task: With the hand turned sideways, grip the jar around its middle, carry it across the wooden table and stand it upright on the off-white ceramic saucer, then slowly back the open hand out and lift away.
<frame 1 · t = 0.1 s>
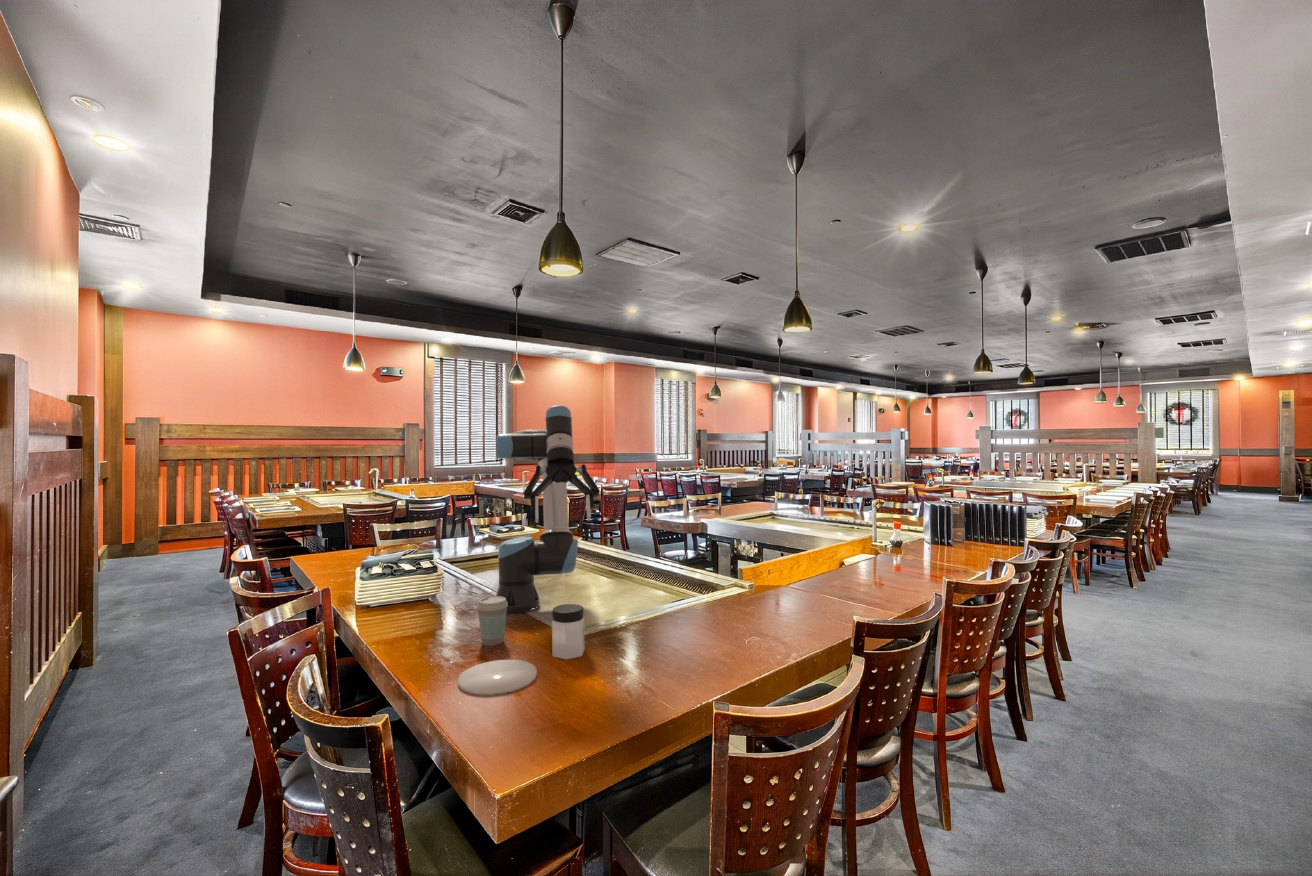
hand: (563, 519, 150), 36 cm above the table, tool tilted 35°, fingers open, 13 cm apart
saucer: (498, 678, 135), on the table
coffee cup: (492, 643, 160), on the table
jar: (568, 654, 151), on the table
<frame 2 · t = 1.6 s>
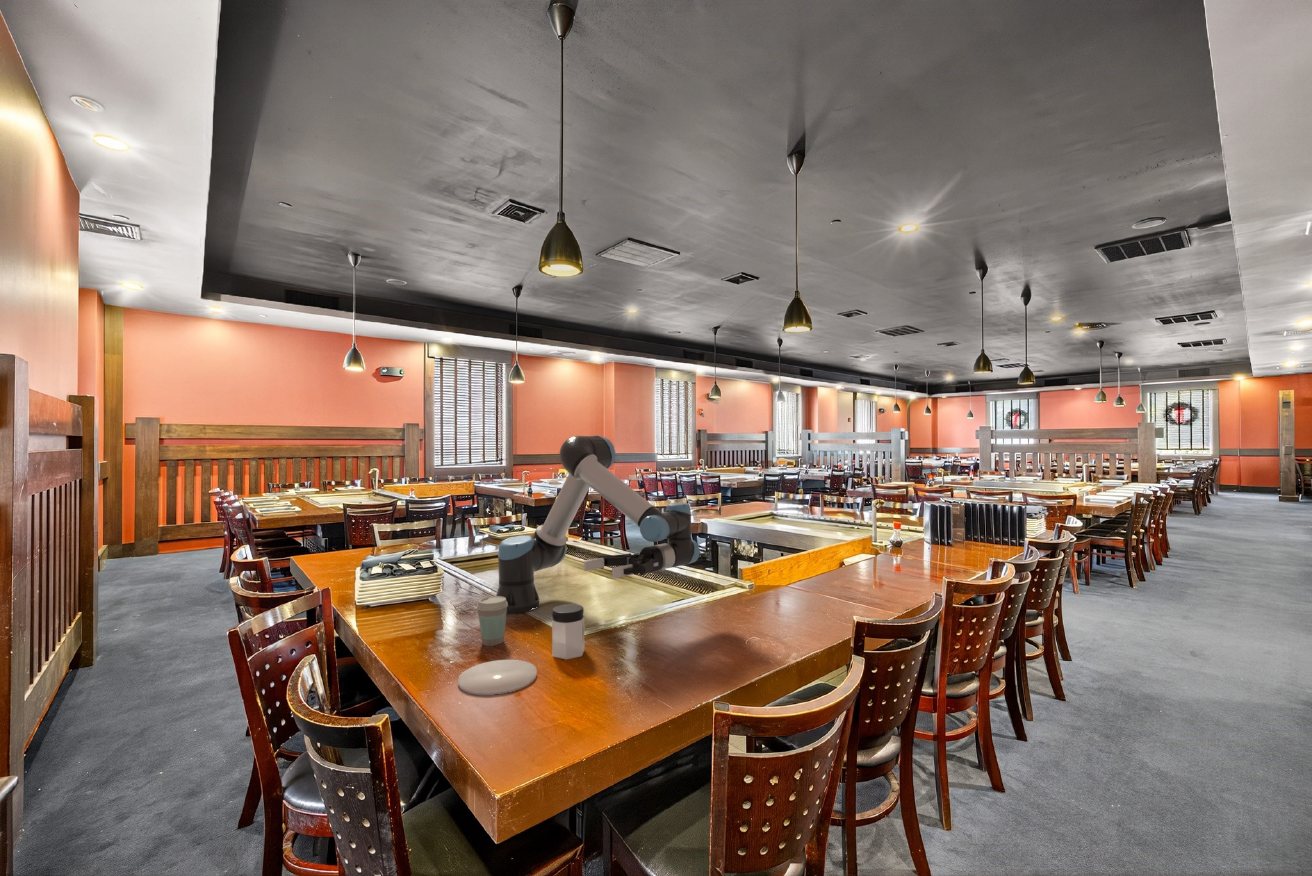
hand: (598, 569, 158), 21 cm above the table, tool horizontal, fingers open, 13 cm apart
nothing on the table moved.
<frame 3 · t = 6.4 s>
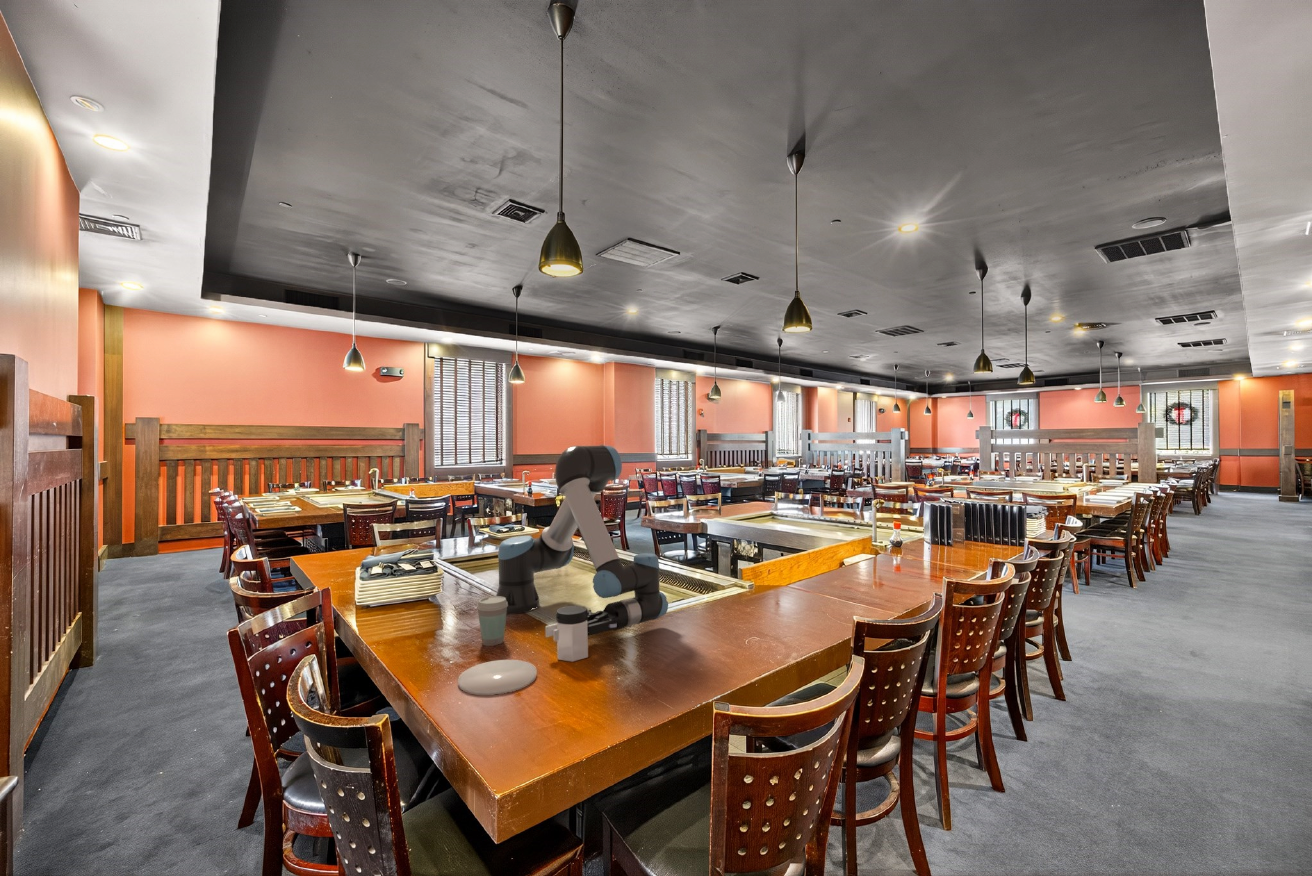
hand: (550, 633, 147), 6 cm above the table, tool horizontal, fingers closed on jar, 3 cm apart
jar: (572, 656, 149), on the table, touching gripper
everything else where it was.
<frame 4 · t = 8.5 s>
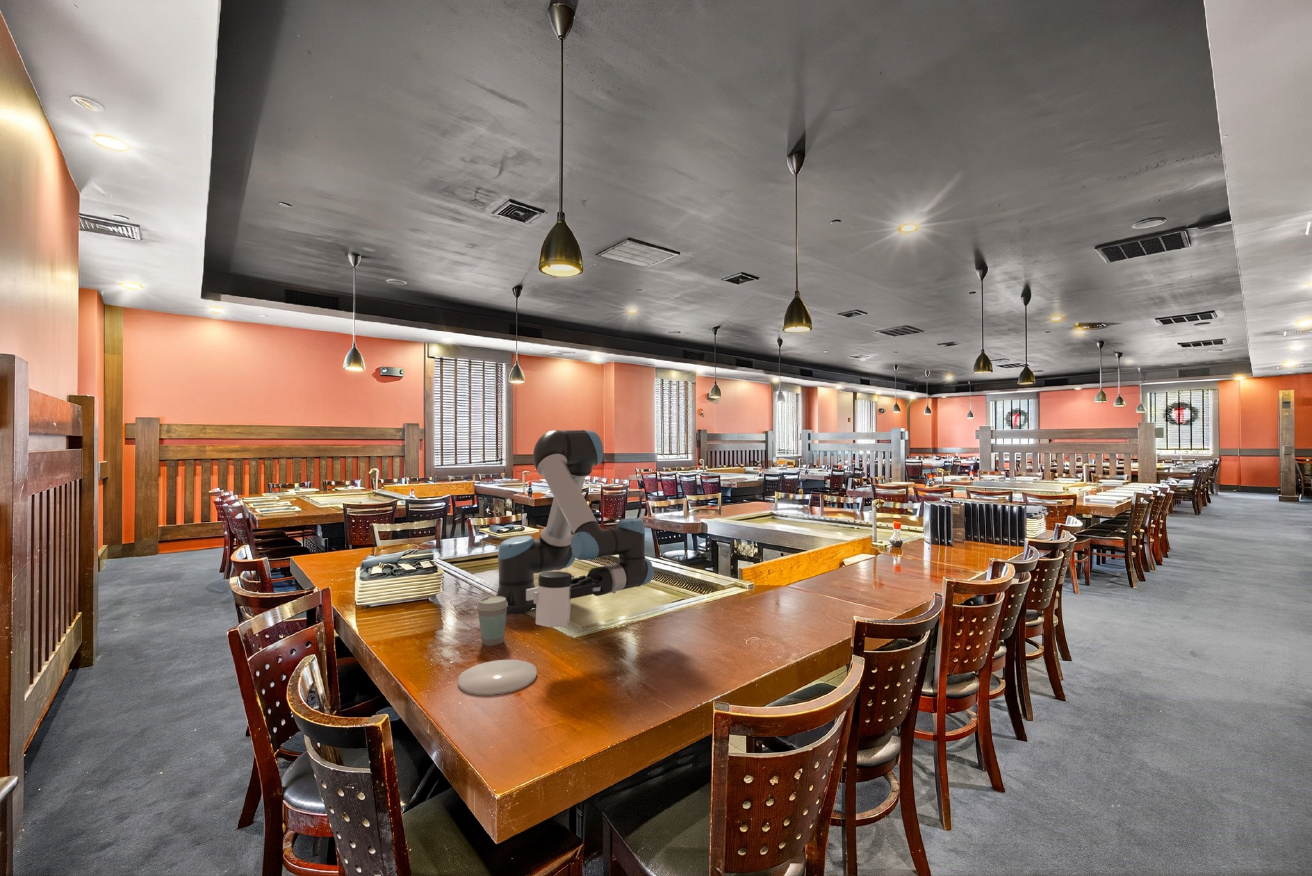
hand: (530, 596, 141), 18 cm above the table, tool horizontal, fingers closed on jar, 3 cm apart
jar: (552, 623, 142), point 11 cm above the table, touching gripper
everything else where it was.
when the fingers open (7 cm above the table, at t = 11.2 s): jar stays where it is, resting on saucer.
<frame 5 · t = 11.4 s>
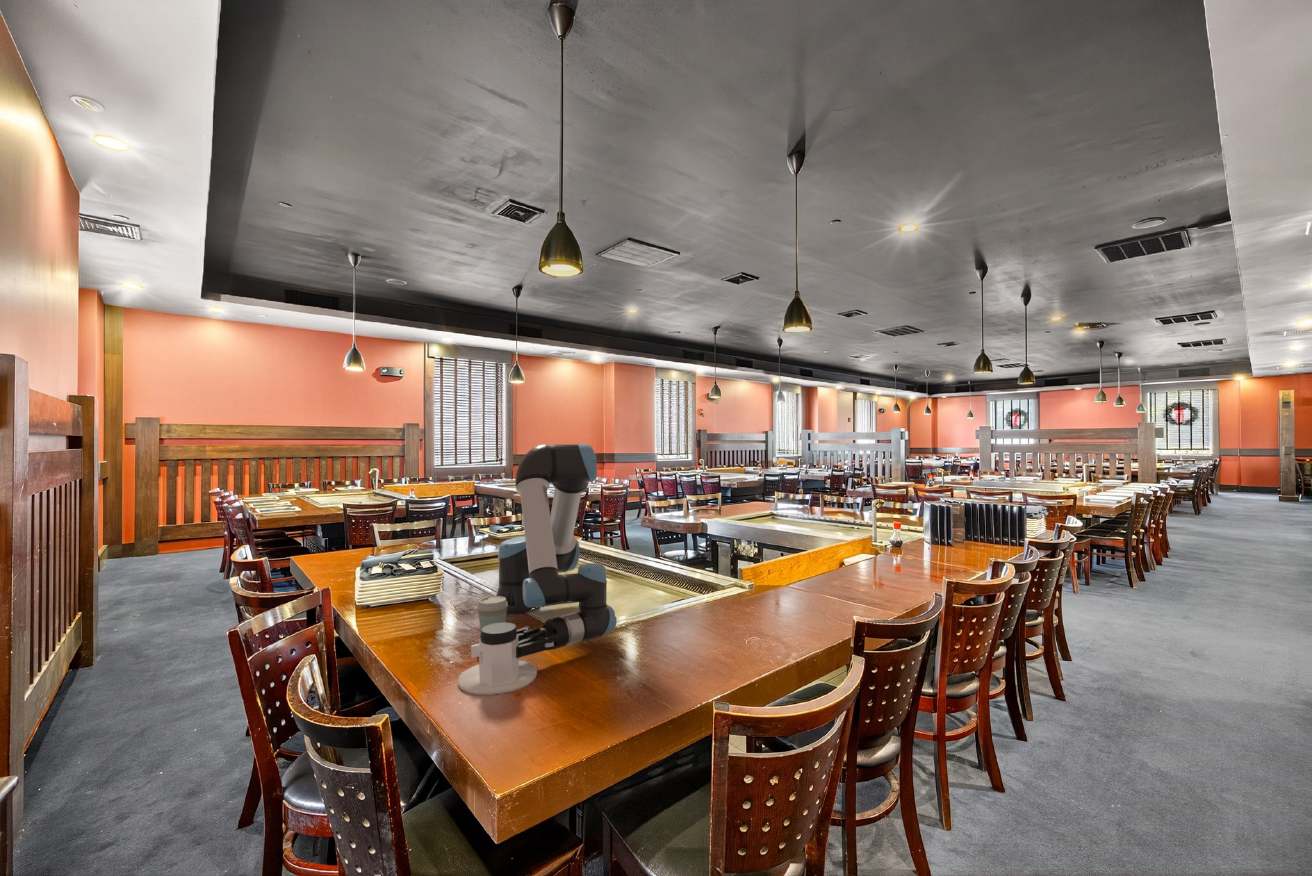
hand: (476, 654, 132), 7 cm above the table, tool horizontal, fingers open, 4 cm apart
jar: (499, 680, 133), point 1 cm above the table, touching saucer
everything else where it was.
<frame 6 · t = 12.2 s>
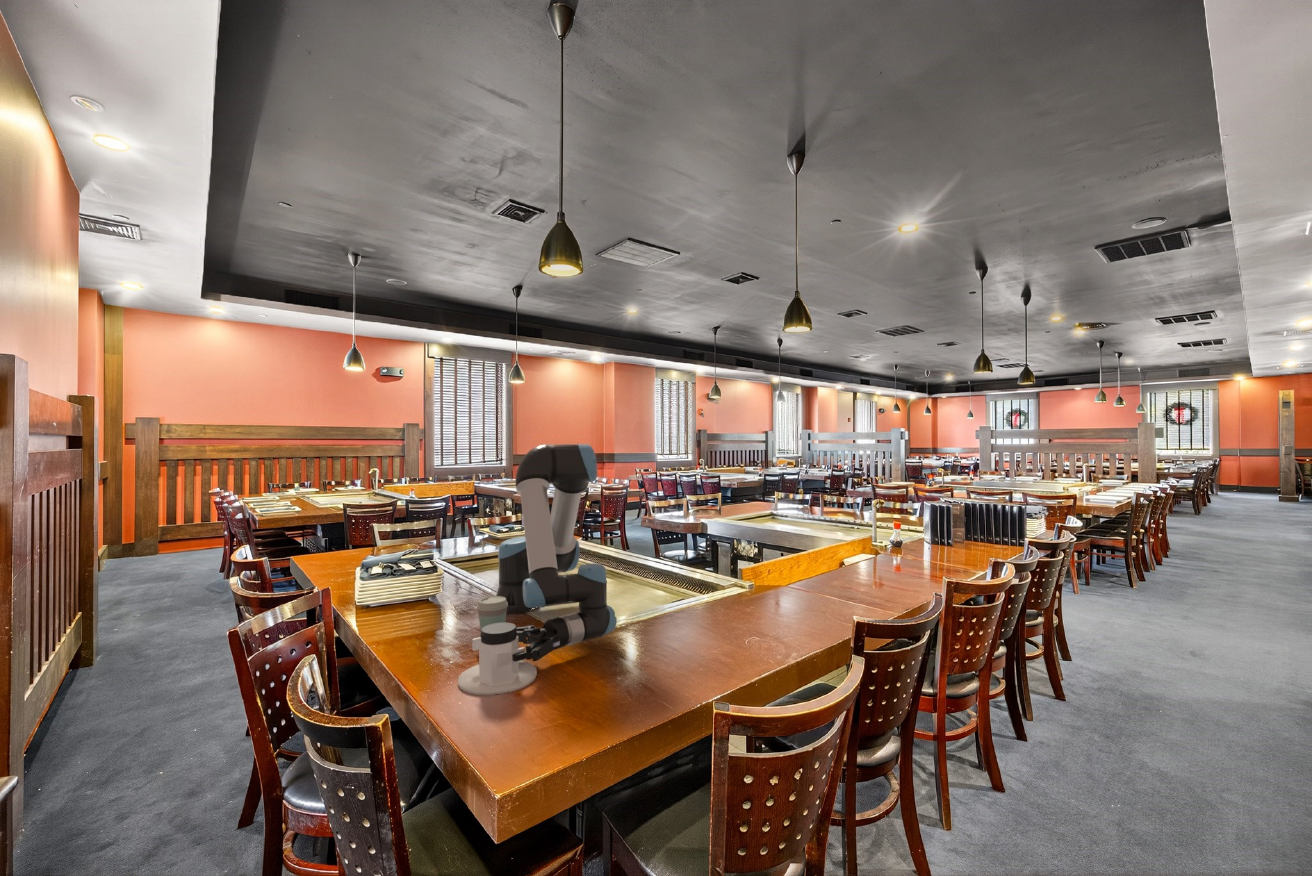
hand: (484, 652, 133), 7 cm above the table, tool horizontal, fingers open, 13 cm apart
nothing on the table moved.
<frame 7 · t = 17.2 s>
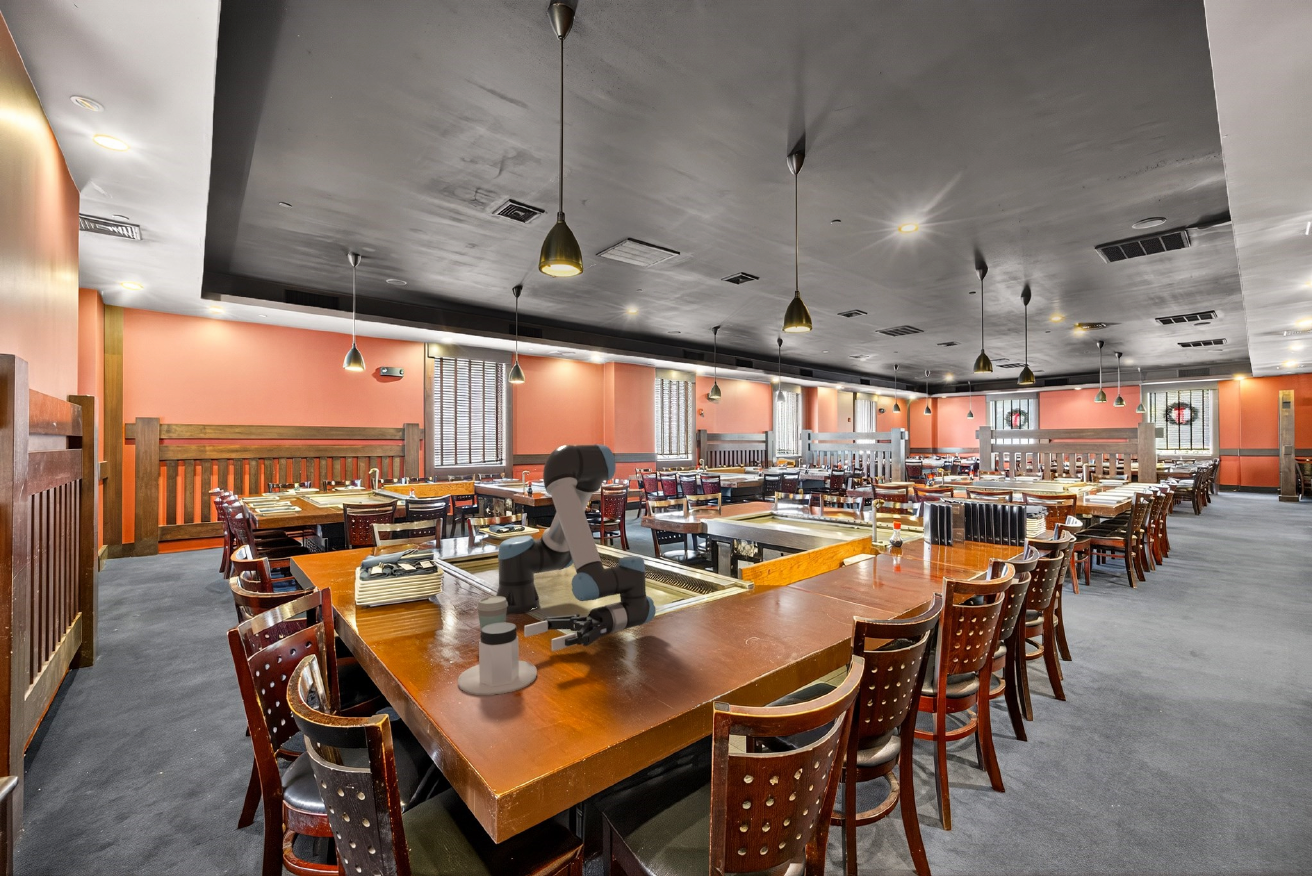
hand: (537, 638, 143), 7 cm above the table, tool horizontal, fingers open, 13 cm apart
nothing on the table moved.
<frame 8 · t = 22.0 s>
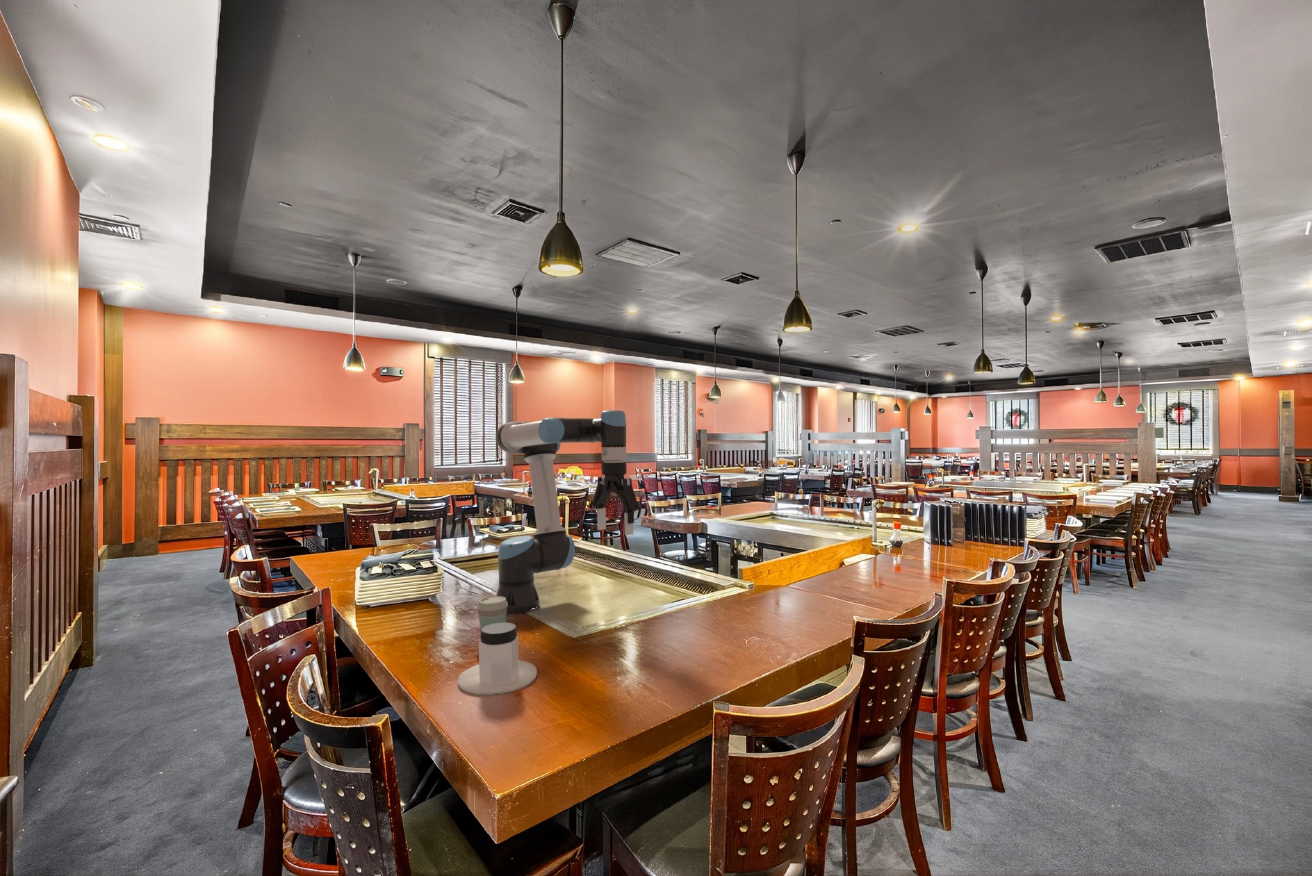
hand: (615, 532, 171), 29 cm above the table, tool pointing down, fingers open, 13 cm apart
nothing on the table moved.
at the end: jar inside the target area on the saucer (3.1 cm from its centre), point 0.8 cm above the saucer's base; jar tilted 0°; the gripper is holding nothing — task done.
